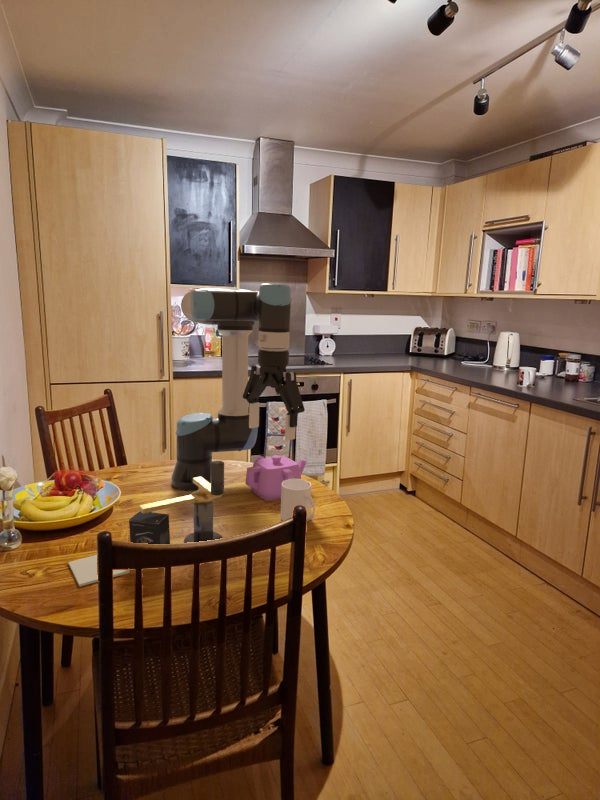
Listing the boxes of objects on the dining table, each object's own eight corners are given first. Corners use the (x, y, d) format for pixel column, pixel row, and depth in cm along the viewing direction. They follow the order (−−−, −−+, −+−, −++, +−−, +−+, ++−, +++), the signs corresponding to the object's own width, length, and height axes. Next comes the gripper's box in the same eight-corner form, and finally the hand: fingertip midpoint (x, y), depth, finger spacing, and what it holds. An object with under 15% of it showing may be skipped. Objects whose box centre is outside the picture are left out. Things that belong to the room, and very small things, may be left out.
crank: (135, 505, 126) (134, 459, 123) (207, 490, 137) (207, 447, 134) (155, 527, 115) (154, 477, 113) (231, 509, 126) (231, 462, 123)
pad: (68, 564, 122) (68, 562, 122) (116, 552, 128) (116, 550, 128) (79, 586, 113) (79, 584, 113) (129, 572, 119) (129, 570, 119)
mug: (302, 532, 142) (303, 496, 140) (274, 517, 151) (275, 482, 148) (324, 523, 148) (326, 488, 146) (296, 509, 156) (297, 476, 154)
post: (177, 539, 136) (177, 496, 133) (212, 530, 141) (212, 489, 139) (193, 555, 128) (193, 510, 125) (229, 545, 133) (229, 502, 131)
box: (171, 553, 128) (170, 513, 126) (160, 565, 123) (159, 523, 121) (141, 549, 130) (140, 509, 128) (129, 560, 125) (128, 518, 122)
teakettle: (243, 499, 163) (243, 461, 160) (258, 480, 179) (259, 446, 177) (295, 505, 160) (296, 467, 157) (306, 485, 176) (307, 451, 173)
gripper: (229, 344, 131) (229, 424, 135) (298, 356, 114) (295, 448, 118) (252, 342, 136) (251, 420, 141) (321, 354, 119) (317, 442, 124)
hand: (271, 433), depth 129 cm, fingers open, 13 cm apart
